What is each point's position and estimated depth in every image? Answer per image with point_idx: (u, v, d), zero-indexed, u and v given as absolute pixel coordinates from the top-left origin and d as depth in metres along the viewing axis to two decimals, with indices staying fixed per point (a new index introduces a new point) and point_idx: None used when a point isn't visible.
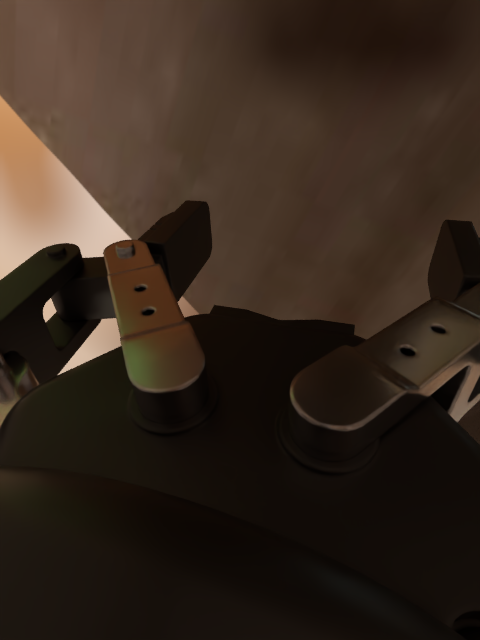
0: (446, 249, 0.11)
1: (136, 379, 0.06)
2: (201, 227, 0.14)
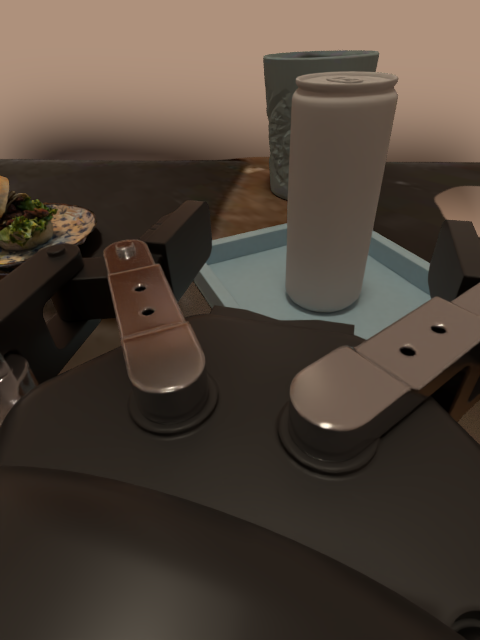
0: (446, 249, 0.11)
1: (136, 379, 0.06)
2: (201, 226, 0.14)
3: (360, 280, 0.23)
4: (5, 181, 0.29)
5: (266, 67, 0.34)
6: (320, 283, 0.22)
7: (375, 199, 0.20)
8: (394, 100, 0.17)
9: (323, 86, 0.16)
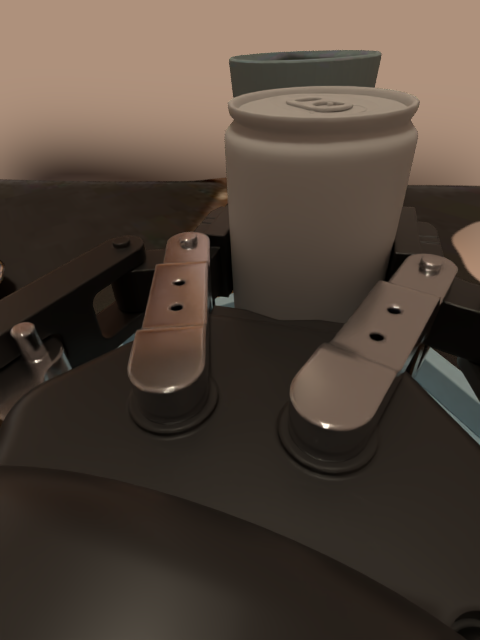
0: None
1: (136, 379, 0.06)
2: None
3: None
4: None
5: (232, 72, 0.26)
6: None
7: None
8: (412, 145, 0.09)
9: (270, 121, 0.08)
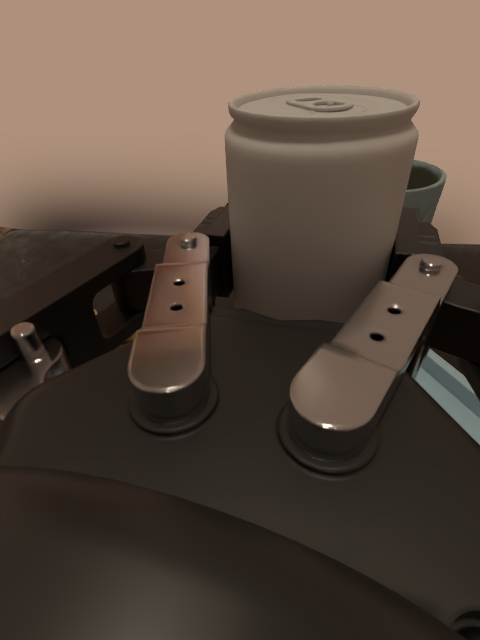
0: None
1: (136, 379, 0.06)
2: None
3: None
4: None
5: None
6: None
7: None
8: (412, 145, 0.09)
9: (270, 121, 0.08)
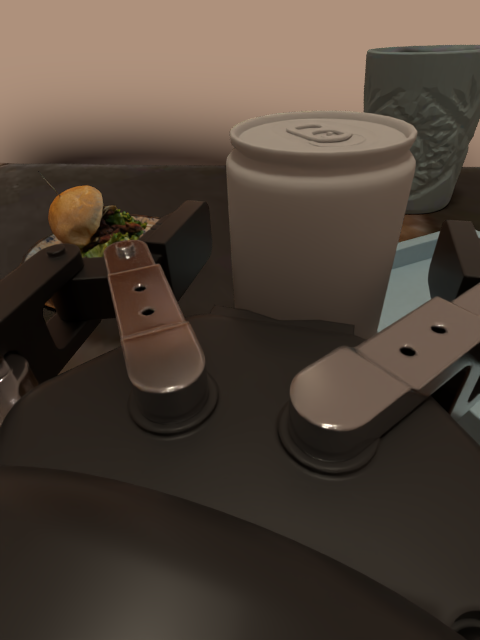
0: (446, 249, 0.11)
1: (136, 379, 0.06)
2: (201, 227, 0.14)
3: None
4: (97, 192, 0.25)
5: (374, 63, 0.30)
6: None
7: (375, 325, 0.12)
8: (410, 175, 0.09)
9: (271, 154, 0.08)
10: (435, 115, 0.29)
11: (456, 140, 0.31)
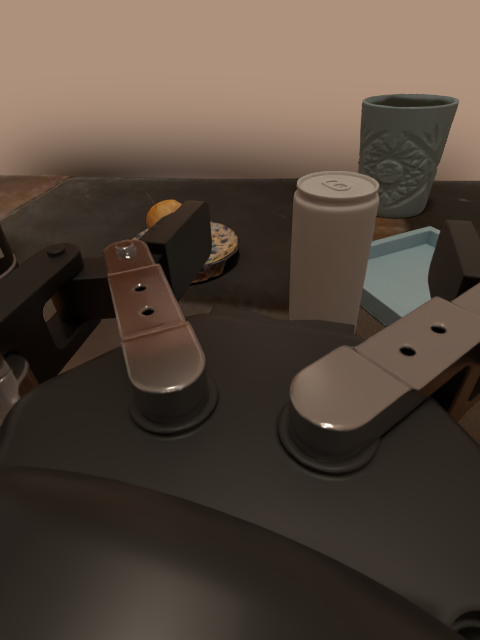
0: (446, 249, 0.11)
1: (136, 379, 0.06)
2: (201, 226, 0.14)
3: None
4: (180, 204, 0.37)
5: (367, 111, 0.42)
6: None
7: (362, 275, 0.24)
8: (376, 205, 0.21)
9: (318, 197, 0.20)
10: (410, 149, 0.41)
11: (426, 165, 0.43)
